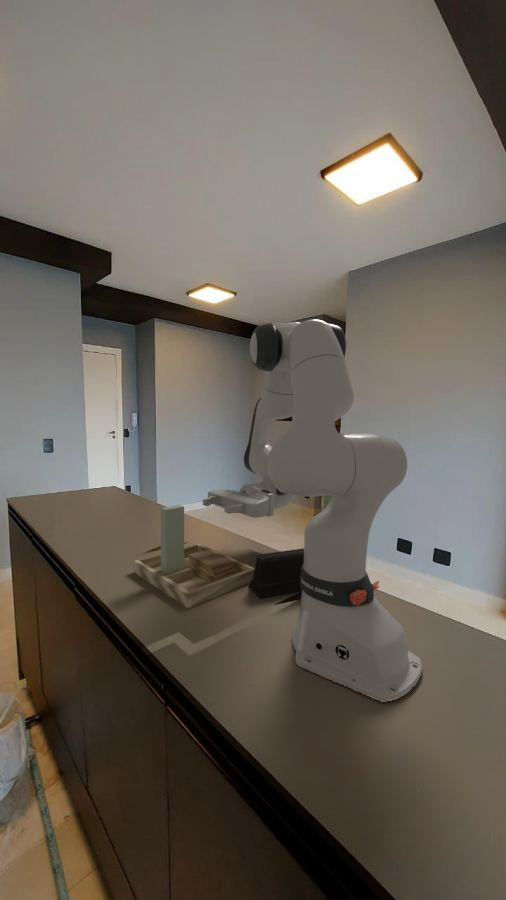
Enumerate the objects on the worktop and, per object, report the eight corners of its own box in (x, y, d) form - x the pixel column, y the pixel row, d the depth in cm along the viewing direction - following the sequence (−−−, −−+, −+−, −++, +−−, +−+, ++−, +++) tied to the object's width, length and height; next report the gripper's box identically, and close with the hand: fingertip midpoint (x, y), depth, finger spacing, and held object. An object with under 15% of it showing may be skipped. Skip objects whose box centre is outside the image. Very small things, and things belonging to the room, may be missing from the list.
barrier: (259, 609, 81) (260, 565, 81) (244, 591, 89) (245, 551, 89) (348, 591, 91) (349, 551, 90) (327, 577, 99) (328, 540, 98)
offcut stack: (238, 578, 93) (238, 561, 92) (215, 586, 88) (215, 569, 88) (204, 561, 103) (204, 546, 102) (182, 568, 98) (182, 552, 98)
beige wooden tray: (255, 586, 92) (256, 568, 91) (187, 614, 78) (187, 594, 77) (198, 558, 109) (198, 543, 109) (134, 577, 95) (134, 560, 95)
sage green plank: (183, 578, 92) (184, 506, 91) (166, 584, 89) (166, 509, 87) (178, 575, 94) (178, 504, 92) (160, 580, 90) (160, 507, 89)
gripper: (229, 482, 116) (192, 488, 106) (278, 494, 101) (240, 502, 92) (229, 502, 116) (192, 509, 107) (277, 517, 102) (239, 527, 92)
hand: (214, 506), depth 99 cm, fingers open, 8 cm apart
